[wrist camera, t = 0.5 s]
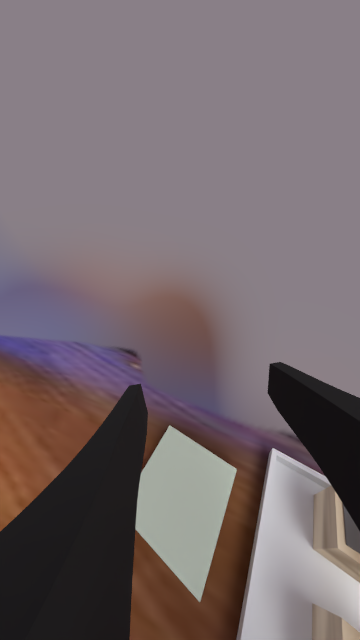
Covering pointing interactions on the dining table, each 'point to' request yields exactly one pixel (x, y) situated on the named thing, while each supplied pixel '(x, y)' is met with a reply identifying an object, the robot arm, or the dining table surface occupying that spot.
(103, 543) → the robot arm
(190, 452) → the sage stand
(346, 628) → the plain block
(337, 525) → the labelled block
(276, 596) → the parts tray
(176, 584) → the dining table surface
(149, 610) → the dining table surface
